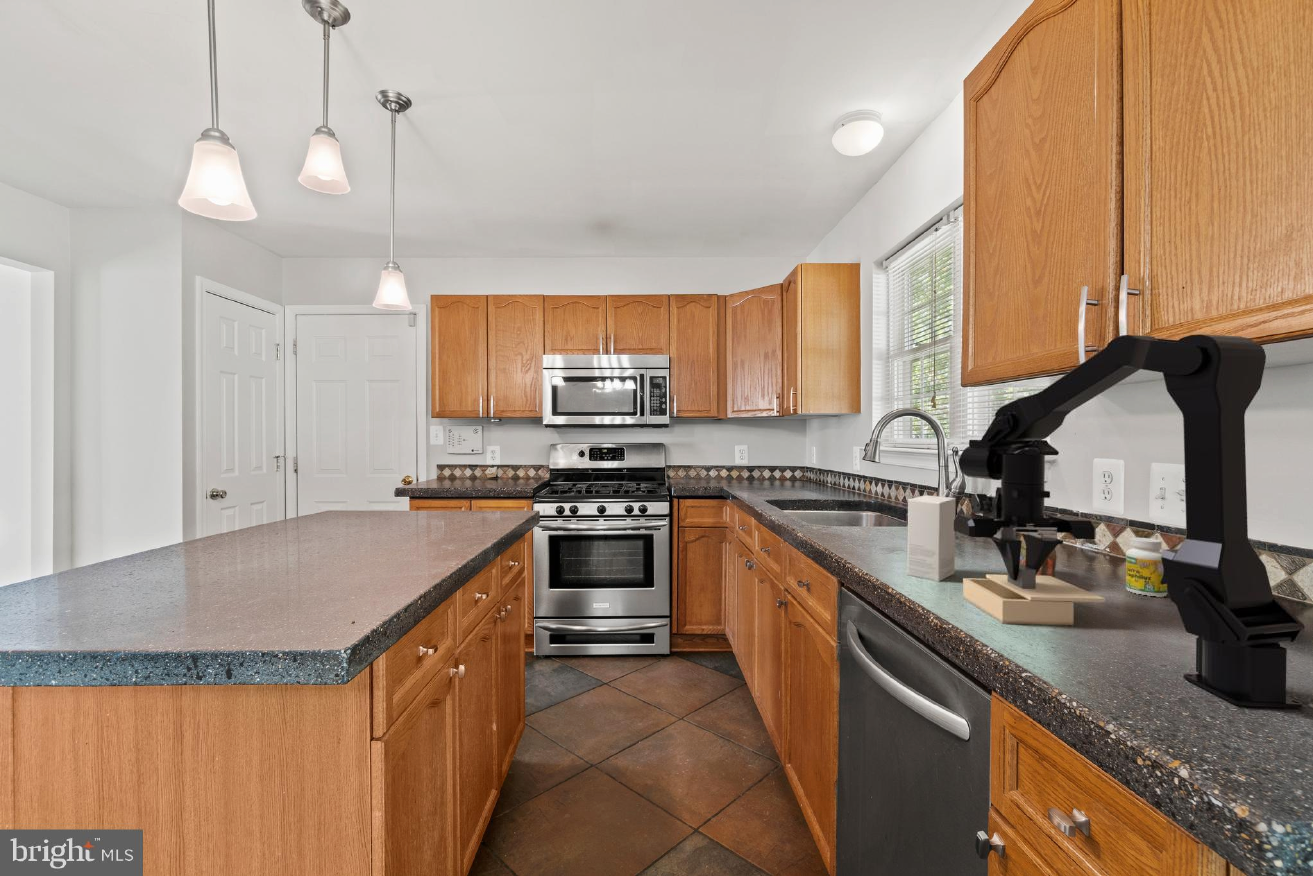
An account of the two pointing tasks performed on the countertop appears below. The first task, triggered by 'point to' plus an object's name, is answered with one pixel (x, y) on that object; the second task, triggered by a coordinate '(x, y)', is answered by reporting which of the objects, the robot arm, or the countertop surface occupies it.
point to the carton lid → (1043, 587)
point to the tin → (1047, 566)
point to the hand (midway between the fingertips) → (1021, 580)
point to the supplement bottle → (1145, 568)
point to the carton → (1015, 604)
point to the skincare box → (931, 537)
